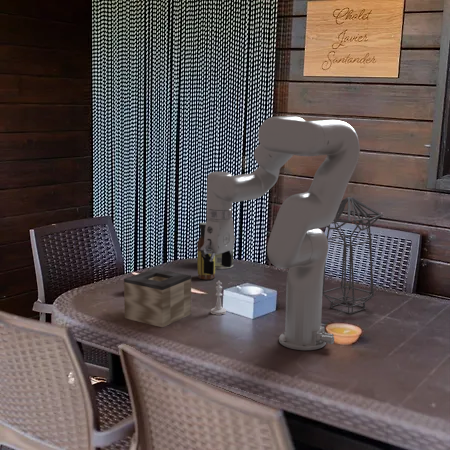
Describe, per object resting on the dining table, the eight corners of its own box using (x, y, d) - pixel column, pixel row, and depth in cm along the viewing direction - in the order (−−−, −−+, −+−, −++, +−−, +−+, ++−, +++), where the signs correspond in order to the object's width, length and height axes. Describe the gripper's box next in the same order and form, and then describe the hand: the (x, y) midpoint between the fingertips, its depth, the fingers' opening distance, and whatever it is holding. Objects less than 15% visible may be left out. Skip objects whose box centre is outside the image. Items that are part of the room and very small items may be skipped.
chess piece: (224, 315, 205) (225, 283, 203) (208, 314, 206) (209, 282, 204) (228, 310, 210) (228, 279, 208) (212, 309, 211) (212, 277, 209)
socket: (191, 314, 206) (191, 275, 204) (162, 327, 195) (162, 286, 192) (154, 305, 214) (153, 268, 211) (124, 318, 202) (124, 278, 200)
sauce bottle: (218, 277, 246) (219, 222, 242) (208, 281, 240) (209, 225, 236) (203, 274, 249) (203, 220, 245) (193, 278, 244) (193, 223, 240)
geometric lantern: (350, 320, 203) (352, 203, 196) (311, 307, 215) (312, 197, 208) (383, 308, 213) (387, 197, 206) (344, 297, 225) (346, 191, 218)
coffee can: (224, 261, 268) (225, 225, 266) (238, 267, 260) (239, 230, 257) (201, 264, 263) (201, 228, 260) (214, 270, 255) (215, 233, 252)
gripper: (213, 220, 193) (212, 279, 197) (245, 211, 207) (243, 265, 211) (192, 217, 197) (190, 274, 201) (224, 208, 211) (222, 261, 215)
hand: (217, 269), depth 206 cm, fingers open, 9 cm apart
